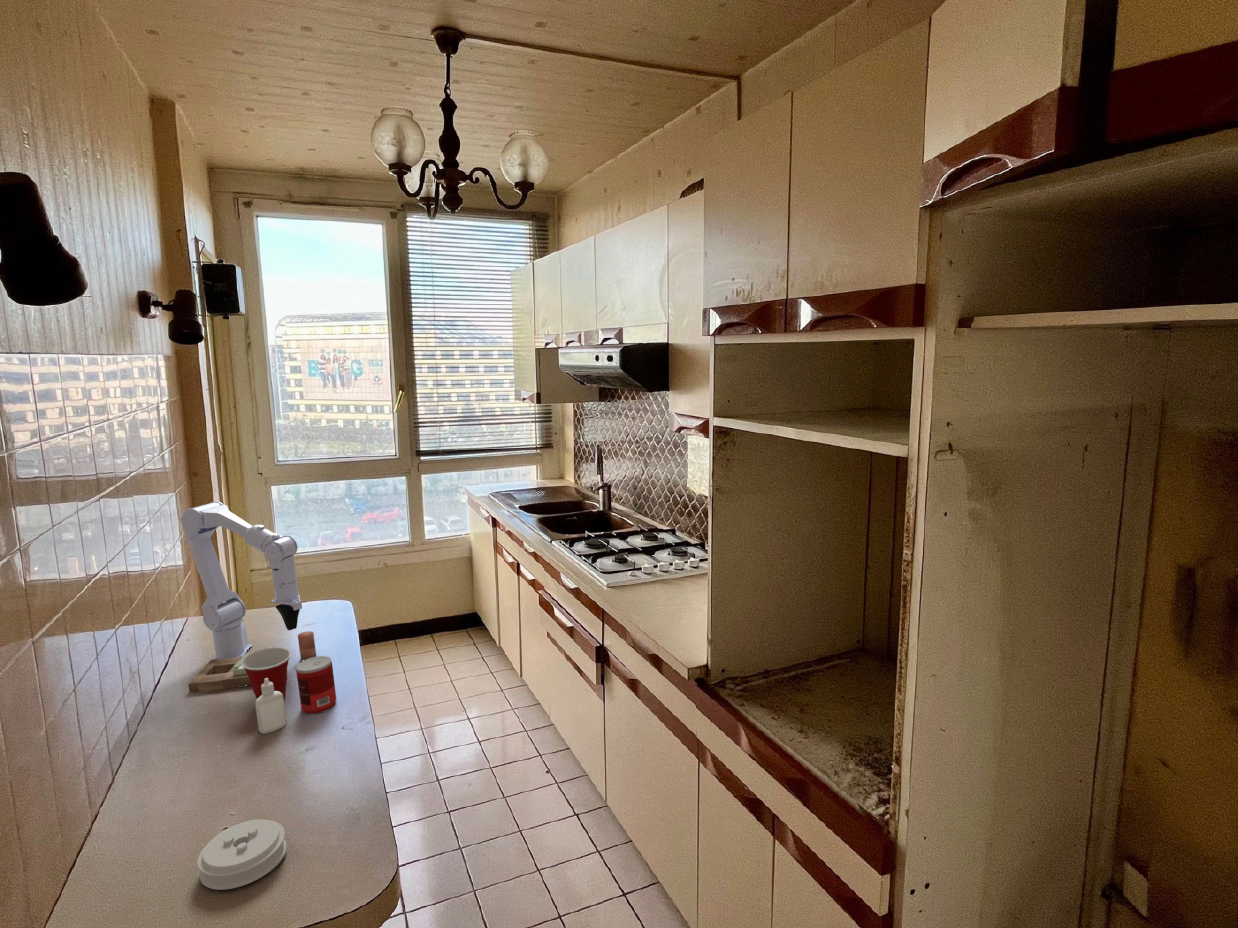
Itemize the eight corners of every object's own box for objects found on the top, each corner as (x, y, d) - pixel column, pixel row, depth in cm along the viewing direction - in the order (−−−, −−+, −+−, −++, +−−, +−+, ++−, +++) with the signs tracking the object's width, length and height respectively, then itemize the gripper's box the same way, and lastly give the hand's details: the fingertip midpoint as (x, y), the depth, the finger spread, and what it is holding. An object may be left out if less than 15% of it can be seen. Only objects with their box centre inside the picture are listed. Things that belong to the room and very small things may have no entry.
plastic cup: (260, 718, 161) (253, 670, 159) (239, 705, 167) (232, 659, 165) (305, 698, 169) (299, 652, 167) (283, 687, 176) (277, 643, 174)
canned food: (342, 697, 169) (337, 655, 167) (325, 714, 161) (320, 670, 159) (313, 697, 170) (307, 655, 168) (294, 714, 162) (288, 670, 160)
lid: (300, 835, 120) (296, 809, 119) (265, 891, 108) (261, 863, 107) (226, 840, 120) (222, 814, 119) (183, 897, 107) (178, 869, 107)
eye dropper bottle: (285, 729, 155) (278, 680, 153) (258, 735, 153) (250, 685, 151) (287, 720, 159) (281, 671, 157) (260, 726, 157) (253, 677, 155)
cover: (247, 658, 188) (246, 652, 188) (282, 654, 190) (281, 648, 189) (233, 675, 178) (232, 668, 178) (270, 670, 180) (269, 664, 179)
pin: (303, 655, 194) (299, 632, 193) (318, 653, 195) (315, 630, 194) (299, 661, 191) (295, 637, 189) (314, 659, 191) (311, 636, 190)
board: (212, 668, 189) (210, 660, 188) (282, 660, 192) (280, 652, 191) (189, 692, 175) (188, 683, 175) (265, 684, 178) (264, 674, 178)
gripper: (260, 580, 190) (267, 626, 192) (279, 591, 180) (286, 640, 182) (287, 573, 195) (293, 619, 197) (307, 583, 184) (313, 631, 187)
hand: (291, 628), depth 190 cm, fingers closed
